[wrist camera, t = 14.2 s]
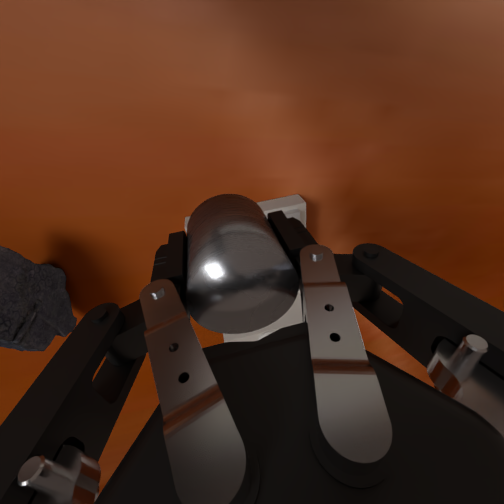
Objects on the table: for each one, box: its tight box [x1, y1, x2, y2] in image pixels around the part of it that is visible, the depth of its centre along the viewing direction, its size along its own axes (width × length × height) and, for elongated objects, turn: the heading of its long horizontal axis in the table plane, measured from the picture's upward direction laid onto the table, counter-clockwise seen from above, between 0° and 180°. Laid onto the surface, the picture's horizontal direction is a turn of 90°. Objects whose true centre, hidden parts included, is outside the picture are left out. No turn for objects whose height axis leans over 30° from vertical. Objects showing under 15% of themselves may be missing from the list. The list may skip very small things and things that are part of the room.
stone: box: [0, 246, 77, 351], centre depth 24 cm, size 14×6×10 cm, turn 22°
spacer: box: [186, 194, 299, 334], centre depth 12 cm, size 4×4×5 cm
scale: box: [185, 194, 306, 343], centre depth 30 cm, size 17×13×7 cm
